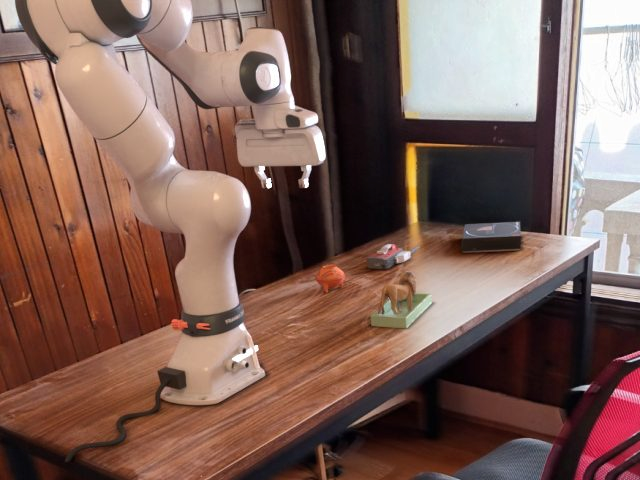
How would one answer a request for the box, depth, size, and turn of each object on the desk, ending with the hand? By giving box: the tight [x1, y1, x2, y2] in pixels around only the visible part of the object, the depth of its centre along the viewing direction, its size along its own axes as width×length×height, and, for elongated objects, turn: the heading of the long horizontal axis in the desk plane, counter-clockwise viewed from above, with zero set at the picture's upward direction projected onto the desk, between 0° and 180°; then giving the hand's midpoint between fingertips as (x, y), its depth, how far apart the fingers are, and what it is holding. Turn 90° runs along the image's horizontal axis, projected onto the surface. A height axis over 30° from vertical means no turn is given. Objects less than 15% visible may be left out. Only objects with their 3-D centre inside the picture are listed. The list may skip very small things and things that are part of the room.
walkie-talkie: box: [366, 243, 421, 271], centre depth 215 cm, size 9×4×20 cm
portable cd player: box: [460, 221, 522, 254], centre depth 222 cm, size 16×17×4 cm
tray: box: [370, 292, 433, 329], centre depth 177 cm, size 17×9×2 cm, turn 157°
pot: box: [314, 264, 346, 293], centre depth 197 cm, size 8×8×7 cm
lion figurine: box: [377, 270, 417, 315], centre depth 173 cm, size 15×5×9 cm, turn 154°
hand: (285, 187), depth 166 cm, fingers open, 8 cm apart
